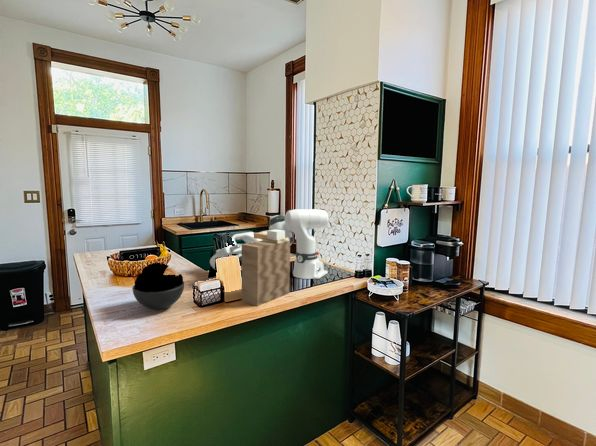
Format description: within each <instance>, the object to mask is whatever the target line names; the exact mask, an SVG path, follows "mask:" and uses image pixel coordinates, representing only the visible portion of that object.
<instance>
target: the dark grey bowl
mask: <svg viewBox="0 0 596 446" xmlns="http://www.w3.org/2000/svg"><path fill="white" fill-rule="evenodd" d="M169 267H170V266H169V265H168V264H166V263H164V262H162V263H160V262H152V263H149V264H148V265H146V266H144V267H142V269H141V272H140V273H138V274H137V277H136V279H135V280H134V285H133V286H132V287H131V288H132V294H133V296H134V298H135V300H136V301H137V303H138V304H140V305H141V306H143V307H144V308H146V309H150V310H155V311H157V310H163V309H167V308H170V307H171V306H172V305H174V304H175V303H176V302H177V301H179V299H180V298H181V296H182V294H183V292H184V289H185V281H184V277H183V275H182V274H180V273H179V274H178V275H176V274H165V272H166V270H167V269H168V268H169Z"/></svg>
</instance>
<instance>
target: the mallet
mask: <svg viewBox="0 0 596 446" xmlns="http://www.w3.org/2000/svg"><path fill="white" fill-rule="evenodd" d="M267 230H268V229H267ZM267 230H266V231H267ZM254 238H256V239H262V238H268V239H274V240H279V239H284V238H285V231H284V230H276V229H275V230H272V229H270V230H268V231H267V234H265V233H259V232H254Z"/></svg>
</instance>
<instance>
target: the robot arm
mask: <svg viewBox="0 0 596 446" xmlns="http://www.w3.org/2000/svg"><path fill="white" fill-rule="evenodd" d="M329 221H330V218H329V213H328V212H327V211H326V210H324V209H319V208H295V209H289V210H287V211H286V213H285V215H282V214H277V215H273V216H272V217H271V218H270V219H269V221H268V223H269V226H270V230H275V229H276V230H284V231H285V237H288V238H290V246H292V244H294V242H295V240H296V252H295V260H294V265H293V270H292V275H293V277H295V278H297V279H303V280H307V279H308V280H311V279H321V278H322V277H324V276H325V275H326V274H328V270H327V269H324V268H325V267H324V266H325V265H324V262H323V261H321V260H320V259H319V258H318V256H320V254H321V253H320V251H316V249H317V240H316V237H315V236H313V235H312V234H310V233H308V230H315V229H319V228H320V229H321V228H323V227H324V228H325V227H326V226H327V225H328V223H329ZM267 231H268V229H267V230H262V231H259V232H258V233H265V234H267ZM254 233H255V232H253V231H252V230H241V231H236V232H235V231H234V232H227V233H225V232H224V233H222V234H220V235H219V236H221V237H222V238H223V240H224V242H225V244H226V246H227V247H224V248H222V249H220V248H219V249H216V250H215V254H214V255H213V256H212V257H210V259H209V264H210V266H211V267H212V269H214V270H216V269H215V258H217V257H218V258H219V257H226V256H228V255H232V254H237V255H238V256H239V262H242V244H243V243H242V244H240V243H237V242H236V241H238V240H242V241H244V242H245V244H247V243H252V242H258V241H262V239H256V238H254ZM293 233H294V235H295V239H294V236H293ZM226 234H229V235H226ZM227 236H230V237H231V238H232V241H234V243H233V244H235V246H232V245H229V246H228V243H227V238H226V237H227Z"/></svg>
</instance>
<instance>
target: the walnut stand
mask: <svg viewBox="0 0 596 446" xmlns="http://www.w3.org/2000/svg"><path fill="white" fill-rule="evenodd" d="M290 261H291V245H290V238H288V237H285V238H284V239H279V240H274V239H268V238H262V241H258V242H252V243H247V244H246V243H242V259H241V302H244V303H247V304H250V305H253V306H255V307H259V306H261V305H264V304H266V303H269V302H271V301H273V300H276V299H279V298H281V297H284V296H286V295H289V294H290V274H291V271H290V270H291V269H290V268H291V262H290Z"/></svg>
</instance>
